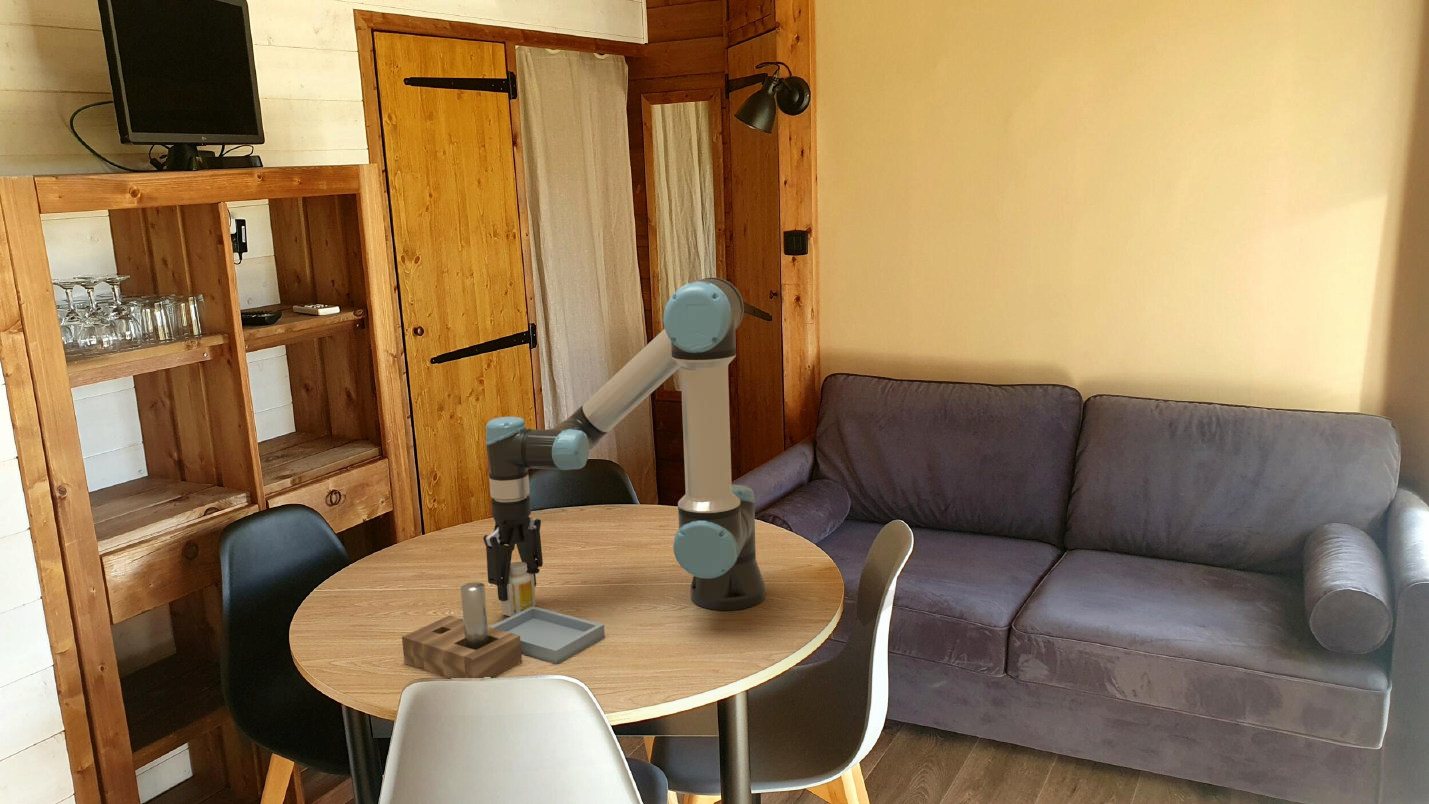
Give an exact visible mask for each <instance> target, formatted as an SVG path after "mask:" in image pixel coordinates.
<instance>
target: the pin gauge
mask: <svg viewBox="0 0 1429 804" xmlns="http://www.w3.org/2000/svg"><path fill="white" fill-rule="evenodd" d="M460 596H461V598H460V599H461V609H462V610H461V611H462V619H463V623H464V635H465V647H467V648H470V649H473V650H478V649H480V648H482V647H484V646H486V645H488V644H489V638H488V615H487V614H488V613H487V602H486V601H487V599H486V590H485V584H484V583H482V582H478V581H477V582H469V583H464V584H463V585H461V586H460Z"/></svg>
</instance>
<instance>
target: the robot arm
mask: <svg viewBox="0 0 1429 804" xmlns="http://www.w3.org/2000/svg"><path fill="white" fill-rule="evenodd" d="M744 305H745V304H744V301H743V298H742V295H741V293H740V292H739V290H738V288H737V287H736V286H734V284H732V283H731V282H730V281H728V280H726V279H723V278H720V277H707V278H702V279H699V280H697V281H694V282H689V283H686V284H684V285H683V286H681V287H679V288H678V289H677V290H676V291H675V292H674V293H673V294H672V295H671V296H670V298H669V299H668V301H667V303H666V304H665V308H664V312H663V326H664V329H663V330H661V332H659V333H658V334H657V335H656V336H655V337H654V338H653V339H652V340H651V341H649V342H648V344H647V345H646V346H644V347H643V348H642V349H641V350H640V351H639V352H638V353H637V354H636V355H634V356H633V357H632V359H630V360H629V361H627V363H626V364H625V365H624V366H623V367H622V368H621V369H620V370H619V371H617V372H616V373H615V374H614V375H613V376H612V377H611V378H610V379H609V380H607V382H606V383H605V384H604V385H603V386H601V387H600V388H599V389H598V390H597V391H596V392H595V393H594V394H593V395H591V397H589V399H588V400H587V401H585V402H584V403H583V404H582V405H581V406H579V408H577V410H576V411H574V413H572V414H571V415H570V416H569V417H567V418H566V419H565V420H564V421H562V422H560V423H559V424H557V425H555V426H554V427H552V428H550V429H547V428H546V429H535V428H533V429H531V428H526V426H527V425H526V422H525V419H523V417H519V416H500V417H496V418H492V419H491V420H489V421H488V422H487V423H486V425H485V446H486V455H487V463H488V479H489V481H488V482H489V492H490V497H491V498H492V499H491V500H490V505H491V507H490V509H491V517H492V519H494V528H493V532H491V534H489V535H488V534H484V536H483V538H482V539H483V543H484V546H485V547H486V549H485V550H486V551H485V552H486V567H487V569H486V570H487V571H486V572H487V582H488V584H490V585H495V586H496V587H497V588H496V589H497V599H498V600H499V601H500V611H501V615H505V616H507V617H511V616H513V615H514V607H513V594H512V584H510V583H508V581H509V573H510V565H511V563H512V558H513V557H512V556H513V551H514V550H515V548H516V549H517V551H518V555H519V557H520V560H521V561H520V562H525V563H526V564H527V571H526V572H527V573H529V574H530V576H531V584H532V598H533V606H535V607H536V605H537V603H536V602H537V600H536V590H535V588H536V586H537V579H536V574H539V573H540V572H541V571H540V568H541V567H542V566H543V564H544V562H543V552H542V539H541V526H542V520H541V519H540V518H539V519H538V518H534V517H530V515H531V513H532V506H531V503H532V502H531V497H530V496H529V494H531V490H530V478H529V469H544V470H561V471H569V470H580V469H583V468H584V467H585V466H586V464H587V461H588V459H589V454H590V450H591V449H593V448H594V447H596V446H597V445H598V444H599V443H600V441H601V439H602V438H603V437H605V436H606V435H607V434H608V433H609V432H610V431H611V430H612V429H613V428H615V426H616V425H618V424H619V423H620V422H621V421H622V420H623V419H624V418H625V417H627V416H628V415H629V414H630V413H631V412H633V410H634V409H635V408H637V407H638V406H639V405H640V404H641V403H642V402H643V401H644V400H645V399H646V398H647V397H649V396H650V395H651V394H652V393H653V392H654V391H655V390H656V389H658V388H659V387H660V386H661V385H662V384H663V383H664V382H665V381H666V380H668V379H669V378H670V377H671V376H672V375H673V374H675V372H676V371H678V370H679V369H680V385H681V386H680V387H681V406H682V407H681V409H682V412H681V413H682V431H683V432H682V433H683V434H682V435H683V459H684V460H683V461H684V462H683V463H684V484H685V485H684V486H685V487H684V488H685V494H684V495H683V496H682V497H680V499H679V500H678V502H677V510H678V517H677V518H678V530H677V531H676V533H675V536H674V539H673V540H674V541H673V544H672V545H673V547H672V548H673V554H674V557H675V559H676V561H677V563H678V565H679V567H681V568H682V569H683V570H684V571H686V572H687V573H688V574H689V575H691V576H692V577H693V578H692V581H691V584H690V600H691V601H692V603H694V604H695V605H697V606H698V607H702V608H704V609H710V610H716V611H734V610H735V611H736V610H742V609H747V608H750V607H755V606H756V605H758V604H760V603H762V601H764V599H765V598H766V585H765V581H764V579H763V576H762V573H761V569H760V567H759V564H758V562H757V554H756V552H757V551H756V520H755V519H756V516H755V513H756V512H755V510H756V507H755V505H756V501H755V494H754V493H755V492H754V490H753V489H752V488H751V487H749V486H746V485H742V484H732V459H731V457H732V455H731V454H732V453H731V452H732V451H731V429H730V428H731V424H730V392H729V391H730V390H729V389H730V388H729V364H730V363H731V362H732V361H734V359H735V358H736V356H737V348H736V347H737V346H736V344H737V343H736V339H737V338H736V330H737V329H738V327H739V326H740V324H741V323H742V321H743V317H744V311H745V309H744V307H745V306H744ZM515 546H516V547H515Z"/></svg>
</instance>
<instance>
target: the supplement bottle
mask: <svg viewBox="0 0 1429 804" xmlns="http://www.w3.org/2000/svg"><path fill="white" fill-rule="evenodd" d="M526 571H527V564H526V563H525V562H522V561H513V562H512V561H511V565H510V573H509V581H508V583H510V584H512V594H513V607H514V615H515V614H517V613H519V612H521V611H523V610H526V609H528V608H530V607H532V606H533V598H532V584H531V576H530V574H529V573H527V572H526Z"/></svg>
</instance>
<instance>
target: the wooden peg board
mask: <svg viewBox="0 0 1429 804" xmlns="http://www.w3.org/2000/svg"><path fill="white" fill-rule="evenodd" d="M488 638H489V644H488V645H486V646H484V647H482V648H480V649H478V650H473V649H470V648H467V647H465V635H464V623H463V618H460V617H457V616H453V615H450V614H449V615H447V616H444V617H443V618H440V619H439V620H436V621H434V622H431V623H429V624H428V625H425V626H423V627H421V628H418V629H415V630H414V631H412V632H410V633H407V634H405V635H403V636H401V642H402V653H403V661H404V664H405V665H409V666H412V667H415V668H418V669H421V670H424V671H427V672H430V673H433V674H435V675H438V676H440V677H444V678H448V679H450V678H484V677H493V678H495V677H497V676H499V675H501V674H502V673H504V672H506V671H508V670H510V669H511V668H514V667H515V666H517V665H519V664H521V663H522V662H523V660H522V659H523V658H522V657H523V656H522V654H521V642H520V635H516V634H513V633H509V632H506V631H502V630H499V629H496V628H492V627H490V626H488Z"/></svg>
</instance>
